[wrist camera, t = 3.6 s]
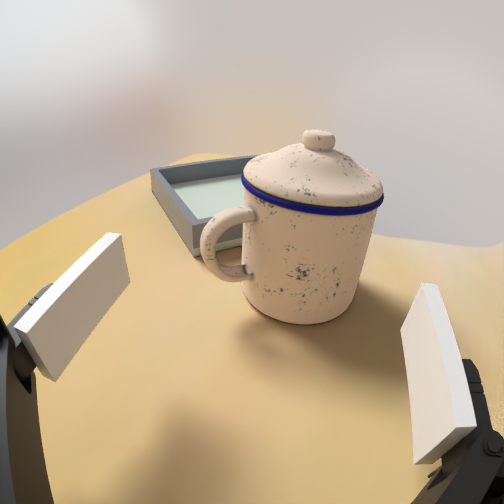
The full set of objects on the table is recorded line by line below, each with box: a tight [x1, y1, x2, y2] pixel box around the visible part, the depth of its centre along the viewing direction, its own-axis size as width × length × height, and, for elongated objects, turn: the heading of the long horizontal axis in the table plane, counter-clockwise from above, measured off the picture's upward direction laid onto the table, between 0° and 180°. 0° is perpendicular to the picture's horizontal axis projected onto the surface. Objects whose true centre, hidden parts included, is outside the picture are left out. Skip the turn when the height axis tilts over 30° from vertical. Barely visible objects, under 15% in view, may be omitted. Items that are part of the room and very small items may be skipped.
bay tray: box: [150, 155, 259, 257], centre depth 35 cm, size 16×16×3 cm
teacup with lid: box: [200, 129, 384, 324], centre depth 21 cm, size 12×9×12 cm
